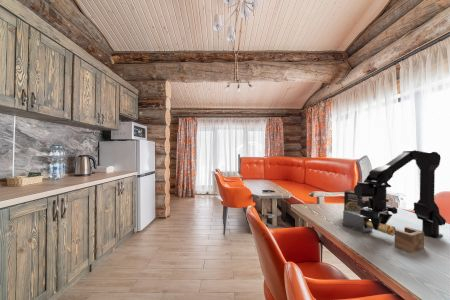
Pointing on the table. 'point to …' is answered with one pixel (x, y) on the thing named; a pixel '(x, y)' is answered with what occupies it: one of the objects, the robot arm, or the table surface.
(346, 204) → the coffee box
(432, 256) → the table surface
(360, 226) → the sleeve
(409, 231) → the socket cradle
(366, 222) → the tube
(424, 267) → the table surface
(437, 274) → the table surface
